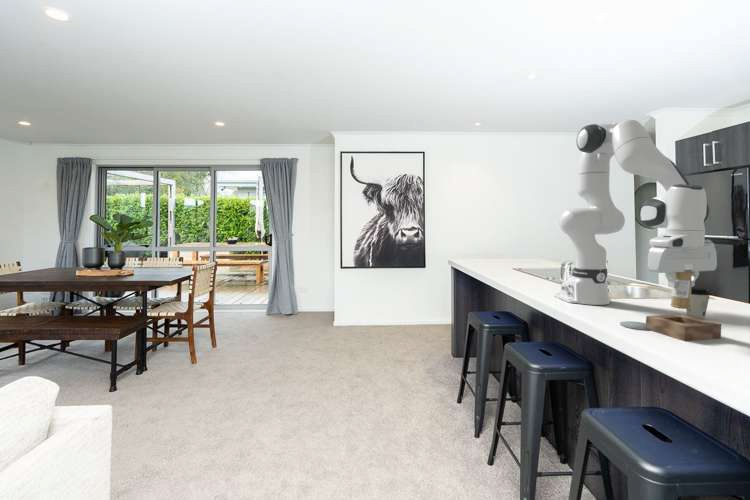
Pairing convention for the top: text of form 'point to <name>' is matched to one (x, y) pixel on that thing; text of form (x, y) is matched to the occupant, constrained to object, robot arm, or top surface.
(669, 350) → the top surface
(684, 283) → the sprinkles bottle
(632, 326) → the coaster
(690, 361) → the top surface
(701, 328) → the holder block
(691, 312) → the coffee cup
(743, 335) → the top surface
